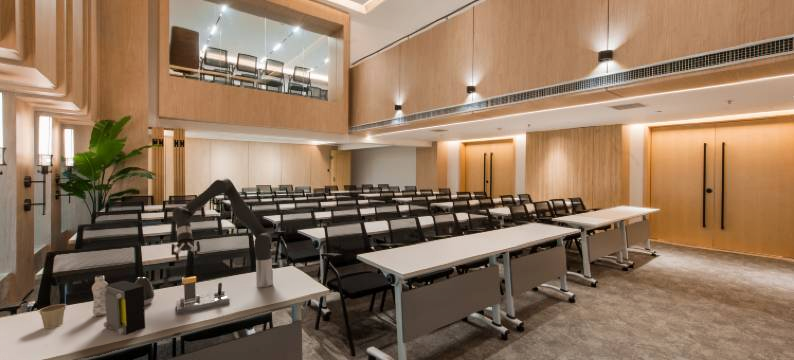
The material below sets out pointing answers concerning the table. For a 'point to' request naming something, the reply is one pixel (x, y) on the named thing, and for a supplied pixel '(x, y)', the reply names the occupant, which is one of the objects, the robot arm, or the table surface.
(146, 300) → the dark grey ridged ovoid
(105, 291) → the electrical component
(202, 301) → the grey lever switch
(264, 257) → the robot arm
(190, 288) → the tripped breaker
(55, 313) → the flower pot
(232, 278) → the table surface
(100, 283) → the plastic bottle
